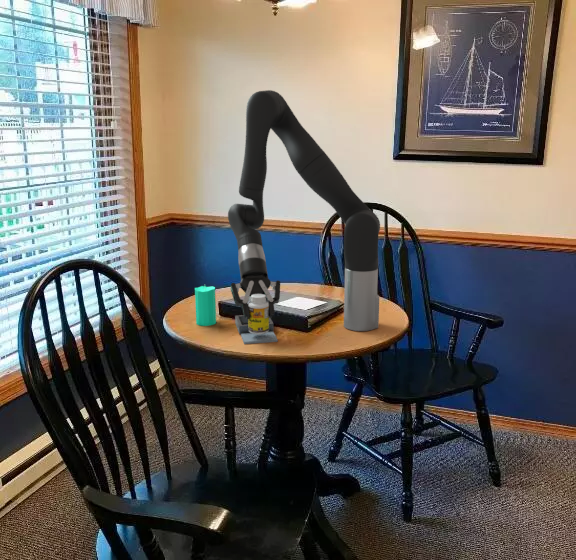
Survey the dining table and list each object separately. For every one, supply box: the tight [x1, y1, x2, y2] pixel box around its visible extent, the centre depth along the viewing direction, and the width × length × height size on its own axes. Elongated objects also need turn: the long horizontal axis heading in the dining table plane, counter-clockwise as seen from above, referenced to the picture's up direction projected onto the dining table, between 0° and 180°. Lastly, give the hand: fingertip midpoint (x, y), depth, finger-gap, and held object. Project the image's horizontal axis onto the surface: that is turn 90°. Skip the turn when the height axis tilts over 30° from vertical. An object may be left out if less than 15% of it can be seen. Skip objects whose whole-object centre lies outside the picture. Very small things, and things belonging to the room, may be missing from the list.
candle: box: [194, 285, 217, 327], centre depth 173 cm, size 6×6×12 cm
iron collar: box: [234, 314, 275, 336], centre depth 169 cm, size 10×10×2 cm
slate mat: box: [240, 332, 278, 345], centre depth 160 cm, size 9×7×1 cm
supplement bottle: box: [247, 294, 269, 335], centre depth 159 cm, size 6×6×10 cm
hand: (259, 317), depth 157 cm, fingers closed on supplement bottle, 5 cm apart
